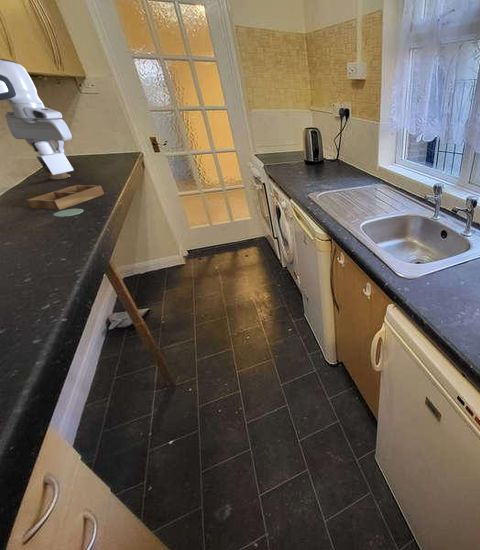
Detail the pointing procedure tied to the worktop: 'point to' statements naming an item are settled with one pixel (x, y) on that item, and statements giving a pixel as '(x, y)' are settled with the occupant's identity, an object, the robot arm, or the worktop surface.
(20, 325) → the worktop surface
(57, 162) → the medicine bottle
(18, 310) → the worktop surface
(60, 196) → the tray
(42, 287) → the worktop surface
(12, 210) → the worktop surface
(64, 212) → the mat
